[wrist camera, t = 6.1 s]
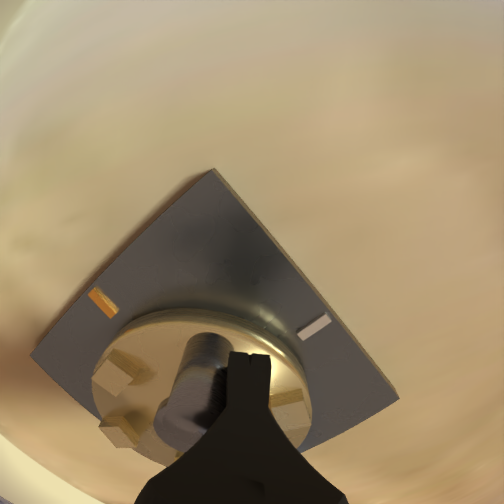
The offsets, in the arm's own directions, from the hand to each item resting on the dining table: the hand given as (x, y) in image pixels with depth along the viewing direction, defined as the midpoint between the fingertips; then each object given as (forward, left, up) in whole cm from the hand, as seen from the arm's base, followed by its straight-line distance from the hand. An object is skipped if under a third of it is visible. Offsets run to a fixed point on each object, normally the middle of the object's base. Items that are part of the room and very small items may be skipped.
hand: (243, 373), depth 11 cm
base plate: (-5, -2, -4) cm, 7 cm away
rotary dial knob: (-5, -2, -3) cm, 6 cm away
